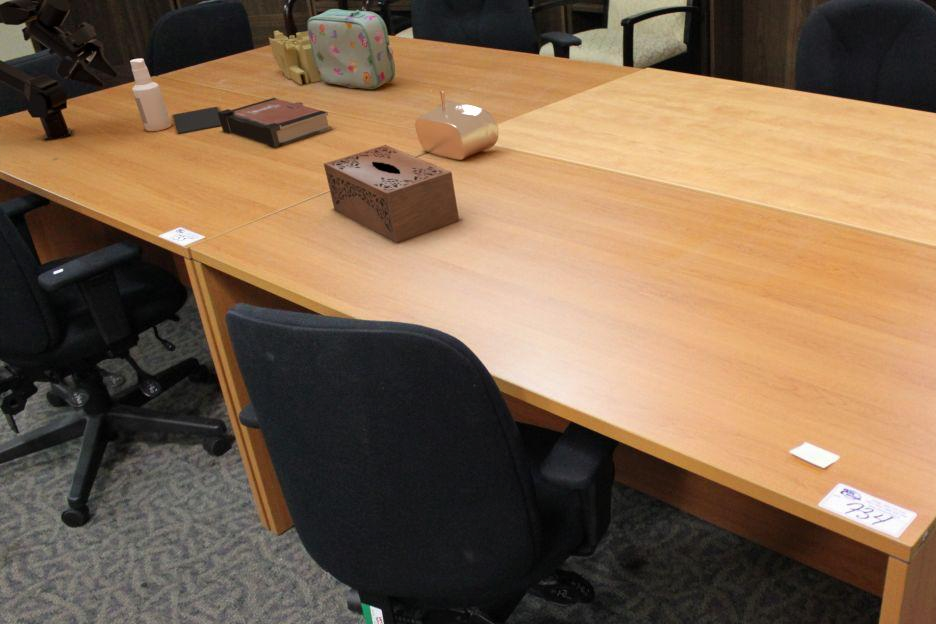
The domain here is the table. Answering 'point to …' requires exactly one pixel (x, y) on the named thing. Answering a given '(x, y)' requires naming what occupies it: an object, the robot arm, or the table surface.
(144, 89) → the spray bottle
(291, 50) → the beige blocky piece
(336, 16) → the lunch box
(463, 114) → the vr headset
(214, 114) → the pad
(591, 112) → the table surface
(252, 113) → the book
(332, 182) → the tissue box cover
